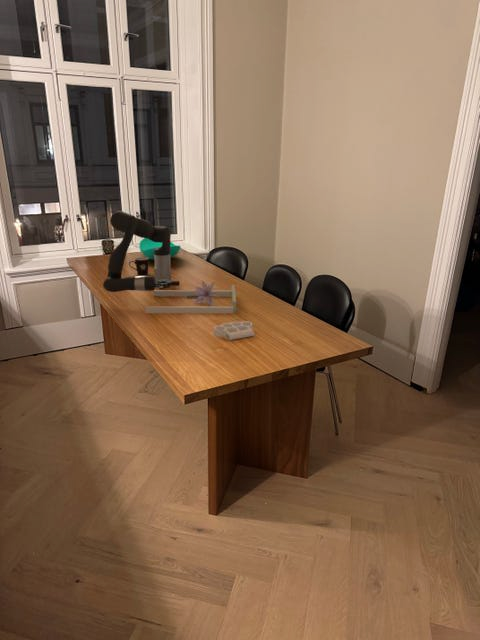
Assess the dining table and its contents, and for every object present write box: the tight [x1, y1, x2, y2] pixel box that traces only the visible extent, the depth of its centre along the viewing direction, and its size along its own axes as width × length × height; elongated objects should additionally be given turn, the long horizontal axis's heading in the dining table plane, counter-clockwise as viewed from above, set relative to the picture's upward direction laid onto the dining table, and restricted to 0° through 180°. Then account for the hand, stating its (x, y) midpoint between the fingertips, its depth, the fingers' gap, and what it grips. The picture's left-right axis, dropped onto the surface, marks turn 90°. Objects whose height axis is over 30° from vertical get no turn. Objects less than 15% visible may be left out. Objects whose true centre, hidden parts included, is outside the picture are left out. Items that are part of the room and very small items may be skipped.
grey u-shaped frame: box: [145, 284, 237, 314], centre depth 222 cm, size 44×28×6 cm, turn 93°
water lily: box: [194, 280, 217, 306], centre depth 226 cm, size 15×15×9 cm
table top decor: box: [139, 238, 182, 261], centre depth 311 cm, size 40×28×13 cm
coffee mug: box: [128, 256, 150, 276], centre depth 275 cm, size 12×9×10 cm
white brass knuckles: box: [213, 320, 256, 341], centre depth 187 cm, size 3×18×15 cm
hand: (179, 283), depth 219 cm, fingers closed
